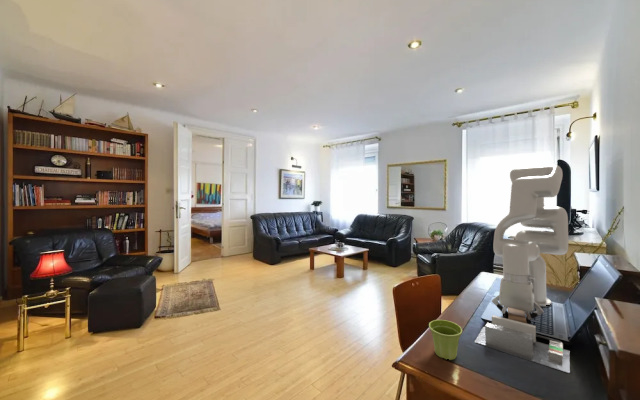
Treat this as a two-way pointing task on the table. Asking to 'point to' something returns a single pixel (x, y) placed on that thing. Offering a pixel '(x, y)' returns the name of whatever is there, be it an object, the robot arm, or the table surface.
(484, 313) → the table surface
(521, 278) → the robot arm
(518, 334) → the frame
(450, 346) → the plant pot
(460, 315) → the table surface
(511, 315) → the walnut bar
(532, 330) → the gauge pad
